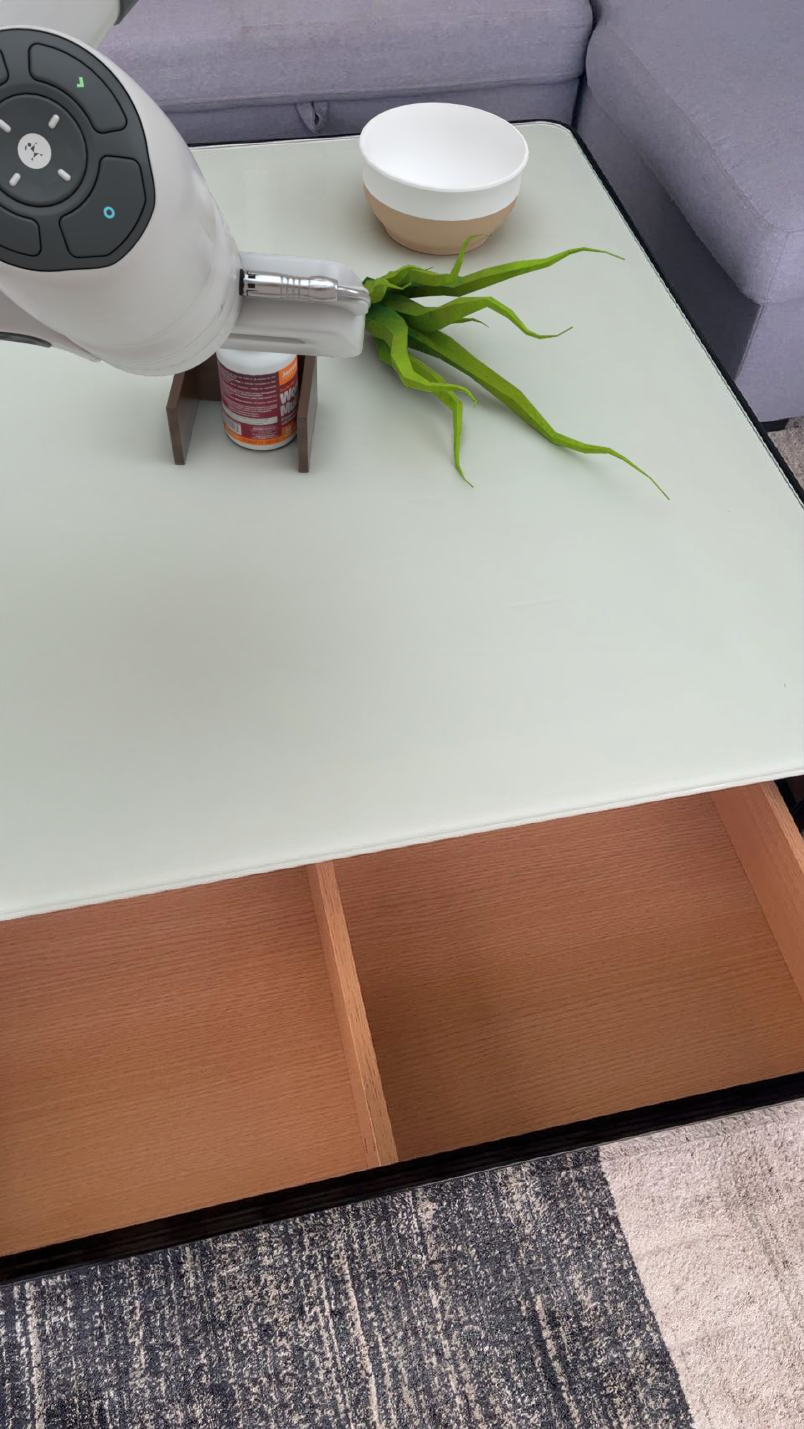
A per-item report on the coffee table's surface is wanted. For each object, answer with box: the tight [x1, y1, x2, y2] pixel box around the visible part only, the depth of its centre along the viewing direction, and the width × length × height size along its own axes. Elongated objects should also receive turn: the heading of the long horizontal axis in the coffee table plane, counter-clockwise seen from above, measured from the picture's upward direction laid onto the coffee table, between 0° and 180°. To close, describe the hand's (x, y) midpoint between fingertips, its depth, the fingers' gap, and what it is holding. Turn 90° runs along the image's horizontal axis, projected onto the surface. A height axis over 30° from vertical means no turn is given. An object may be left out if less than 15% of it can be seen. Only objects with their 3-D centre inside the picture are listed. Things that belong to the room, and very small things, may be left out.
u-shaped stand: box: [165, 352, 318, 473], centre depth 84 cm, size 11×9×6 cm
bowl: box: [358, 102, 530, 256], centre depth 102 cm, size 16×16×8 cm
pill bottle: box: [216, 348, 299, 451], centre depth 82 cm, size 6×6×11 cm
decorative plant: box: [361, 234, 671, 501], centre depth 83 cm, size 18×30×15 cm, turn 18°
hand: (194, 328), depth 62 cm, fingers closed
